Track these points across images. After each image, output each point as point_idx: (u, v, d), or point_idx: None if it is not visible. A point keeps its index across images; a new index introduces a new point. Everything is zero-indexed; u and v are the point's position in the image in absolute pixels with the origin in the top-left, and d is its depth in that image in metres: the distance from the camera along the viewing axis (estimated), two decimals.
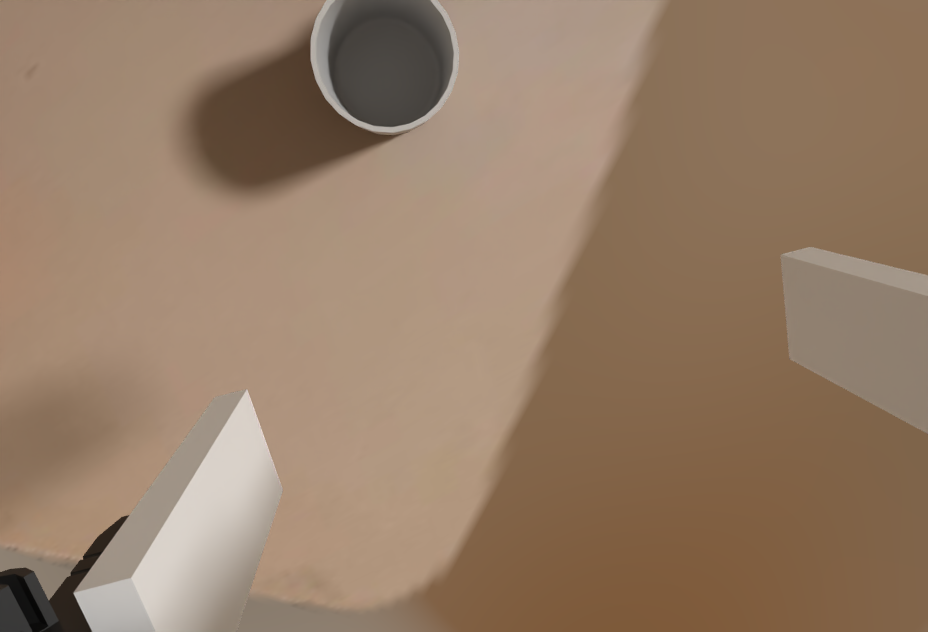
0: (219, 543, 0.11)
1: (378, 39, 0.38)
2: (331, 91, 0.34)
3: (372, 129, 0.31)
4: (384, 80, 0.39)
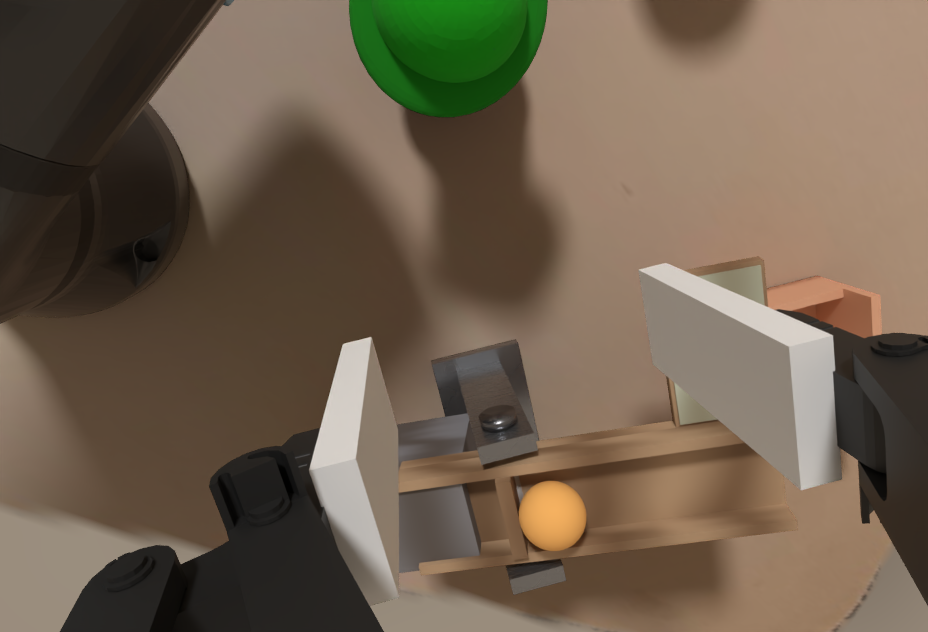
0: (381, 455, 0.13)
1: None
2: None
3: None
4: None
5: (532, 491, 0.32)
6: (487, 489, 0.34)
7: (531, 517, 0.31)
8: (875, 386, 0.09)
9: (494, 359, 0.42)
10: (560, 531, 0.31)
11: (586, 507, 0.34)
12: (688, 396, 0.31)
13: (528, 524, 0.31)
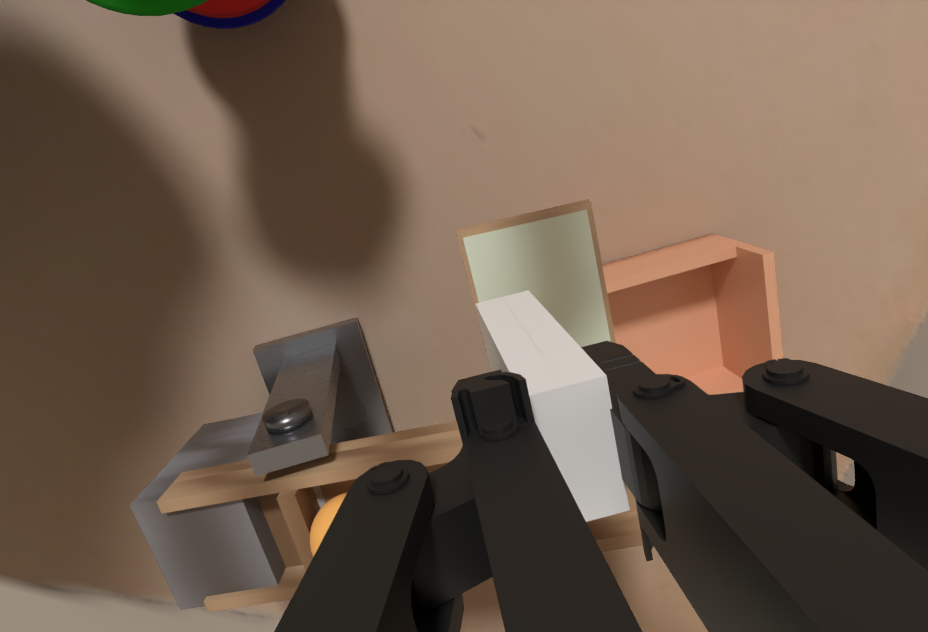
0: None
1: None
2: None
3: None
4: None
5: (324, 507, 0.25)
6: None
7: (317, 541, 0.25)
8: (642, 432, 0.09)
9: (329, 342, 0.35)
10: None
11: None
12: None
13: (315, 549, 0.25)
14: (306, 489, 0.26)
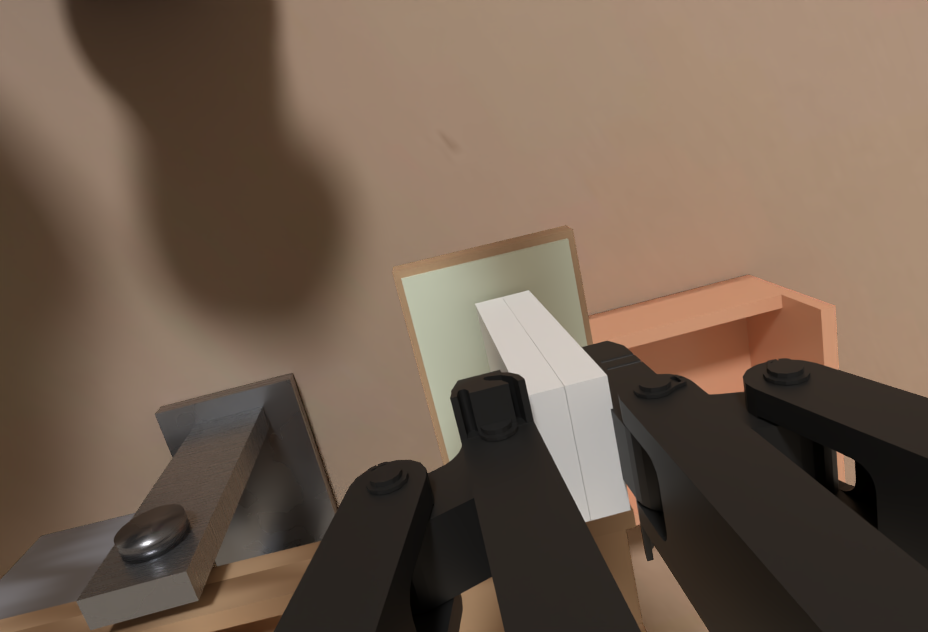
0: None
1: None
2: None
3: None
4: None
5: None
6: None
7: None
8: (644, 432, 0.09)
9: (254, 405, 0.28)
10: None
11: None
12: None
13: None
14: None
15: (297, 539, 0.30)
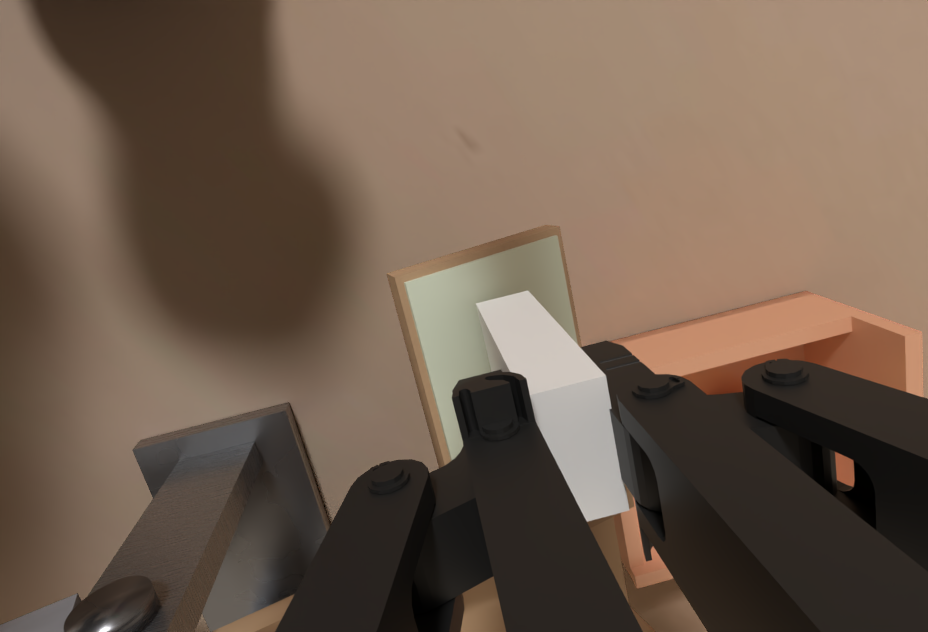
0: None
1: None
2: None
3: None
4: None
5: None
6: None
7: None
8: (643, 432, 0.09)
9: (245, 439, 0.24)
10: None
11: None
12: None
13: None
14: None
15: (294, 588, 0.26)
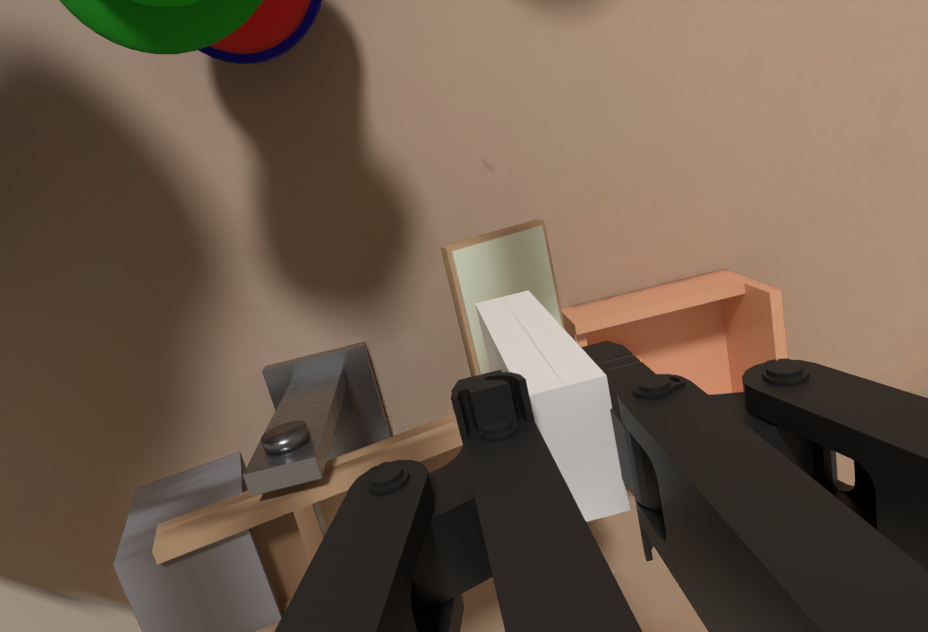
0: None
1: None
2: None
3: None
4: None
5: None
6: (281, 531, 0.27)
7: None
8: (643, 432, 0.09)
9: (336, 365, 0.36)
10: None
11: None
12: None
13: None
14: (313, 506, 0.27)
15: None
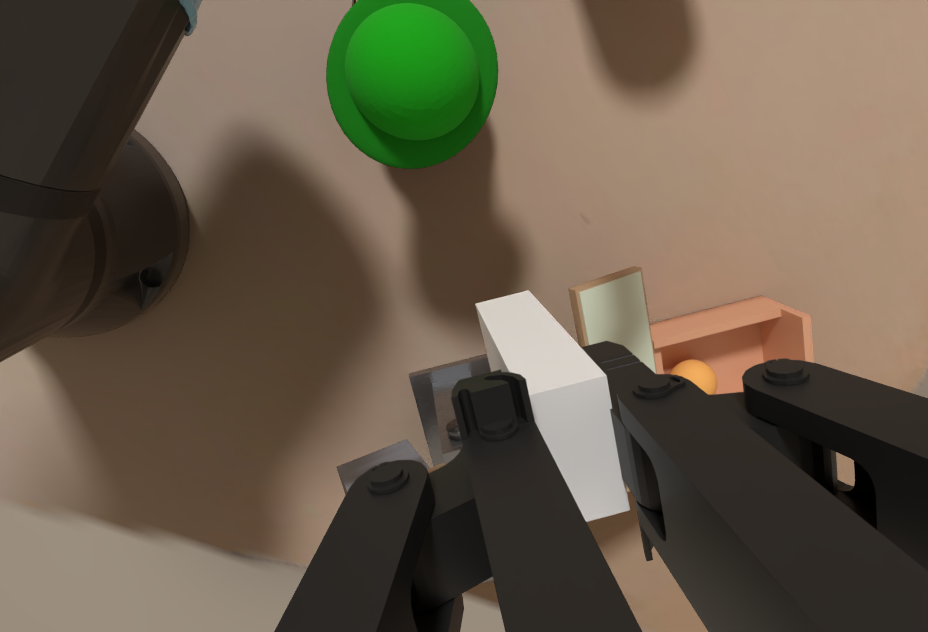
0: None
1: None
2: None
3: None
4: None
5: (697, 360, 0.47)
6: None
7: None
8: (643, 432, 0.09)
9: (466, 372, 0.47)
10: None
11: None
12: None
13: None
14: None
15: None
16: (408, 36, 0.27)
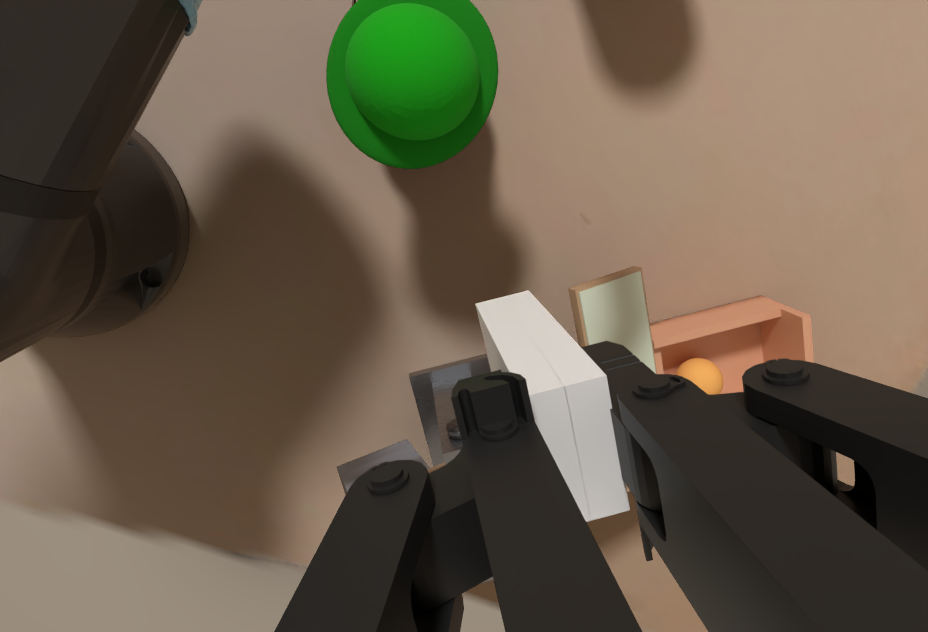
0: None
1: None
2: None
3: None
4: None
5: (701, 358, 0.47)
6: None
7: None
8: (643, 432, 0.09)
9: (466, 372, 0.47)
10: None
11: None
12: None
13: None
14: None
15: None
16: (408, 36, 0.27)
